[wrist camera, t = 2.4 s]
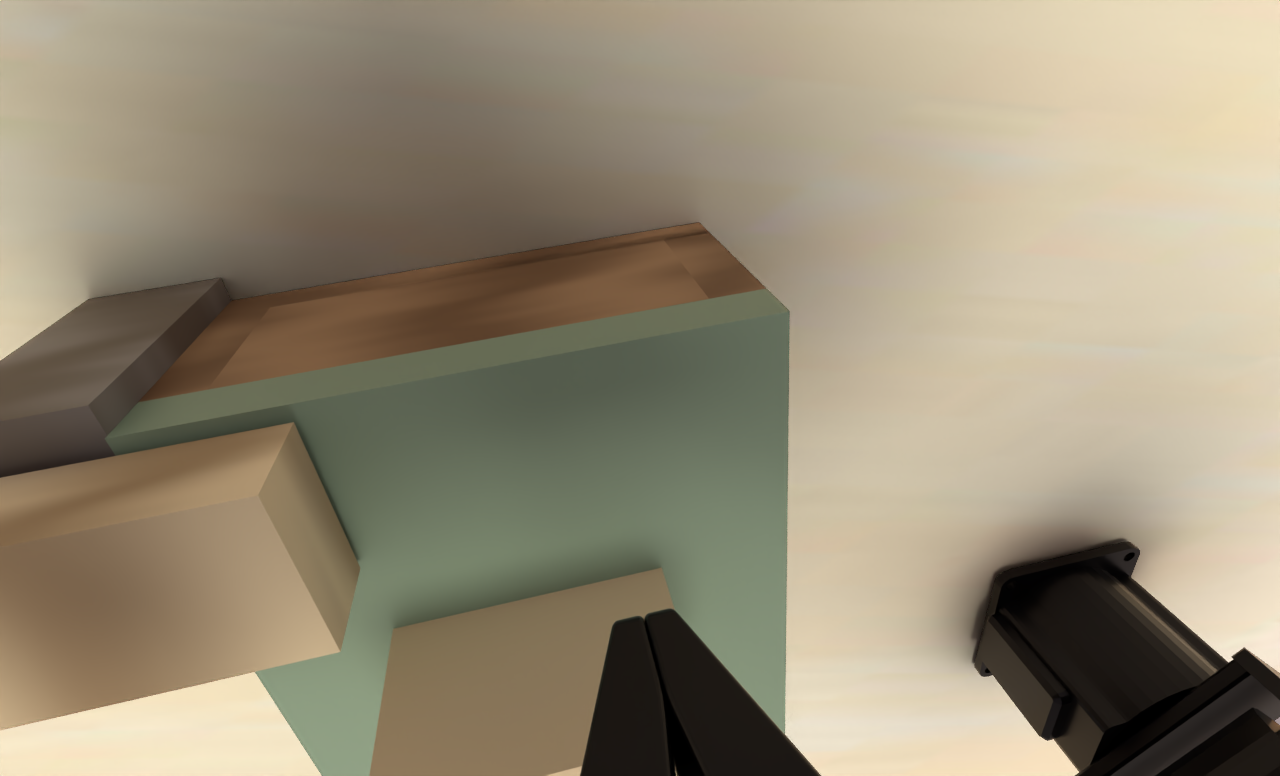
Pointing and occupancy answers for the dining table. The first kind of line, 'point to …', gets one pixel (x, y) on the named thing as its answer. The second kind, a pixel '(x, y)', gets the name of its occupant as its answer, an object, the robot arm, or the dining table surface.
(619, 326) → the lid
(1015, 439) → the dining table surface
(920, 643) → the dining table surface
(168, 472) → the wooden block
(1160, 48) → the dining table surface
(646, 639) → the robot arm
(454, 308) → the toolbox
